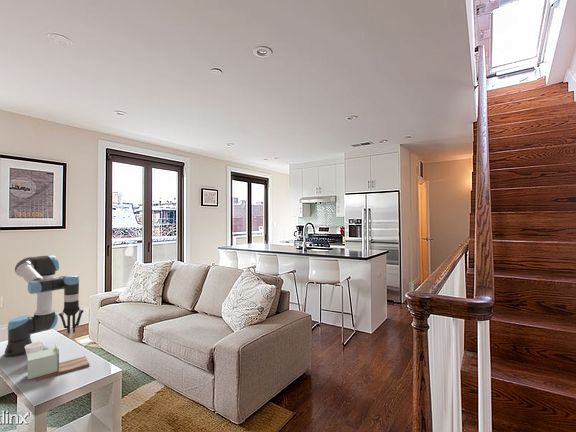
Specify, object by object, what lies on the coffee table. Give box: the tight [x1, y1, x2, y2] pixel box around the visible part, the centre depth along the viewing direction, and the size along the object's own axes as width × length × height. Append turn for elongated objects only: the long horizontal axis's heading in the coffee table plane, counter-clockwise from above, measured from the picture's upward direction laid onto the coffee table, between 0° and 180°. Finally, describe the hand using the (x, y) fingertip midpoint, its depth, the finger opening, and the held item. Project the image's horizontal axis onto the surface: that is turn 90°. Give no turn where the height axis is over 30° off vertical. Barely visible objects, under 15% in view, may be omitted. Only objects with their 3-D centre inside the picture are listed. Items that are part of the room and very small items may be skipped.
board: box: [36, 356, 90, 382], centre depth 187 cm, size 14×25×4 cm, turn 132°
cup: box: [24, 341, 45, 356], centre depth 196 cm, size 10×10×11 cm
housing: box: [26, 343, 60, 380], centre depth 181 cm, size 11×14×13 cm
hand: (71, 338), depth 192 cm, fingers closed
